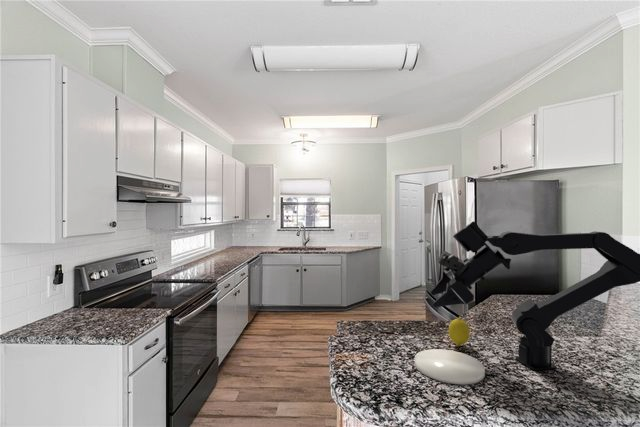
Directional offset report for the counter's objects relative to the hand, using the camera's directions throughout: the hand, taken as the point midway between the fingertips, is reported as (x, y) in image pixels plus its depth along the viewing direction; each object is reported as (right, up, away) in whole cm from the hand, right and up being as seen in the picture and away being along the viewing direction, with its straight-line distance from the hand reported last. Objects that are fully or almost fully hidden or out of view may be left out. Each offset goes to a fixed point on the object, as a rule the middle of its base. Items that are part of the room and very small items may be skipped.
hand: (432, 299), depth 91 cm
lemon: (+8, -14, +2) cm, 16 cm away
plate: (0, -14, -11) cm, 18 cm away
